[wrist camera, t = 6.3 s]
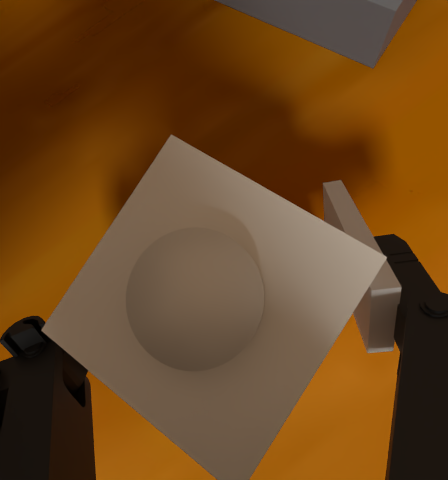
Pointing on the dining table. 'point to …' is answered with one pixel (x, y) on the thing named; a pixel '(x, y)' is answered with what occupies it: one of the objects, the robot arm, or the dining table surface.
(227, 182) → the tower brick
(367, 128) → the dining table surface
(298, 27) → the base plate
